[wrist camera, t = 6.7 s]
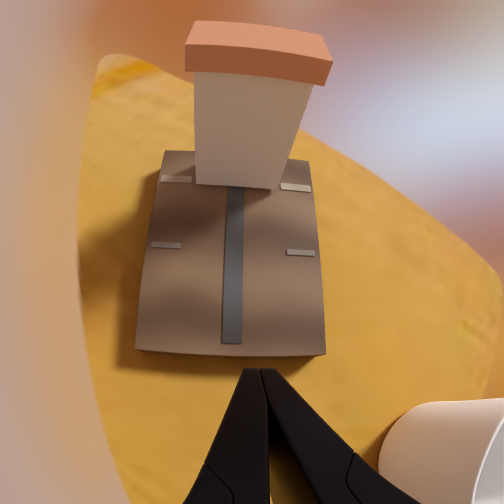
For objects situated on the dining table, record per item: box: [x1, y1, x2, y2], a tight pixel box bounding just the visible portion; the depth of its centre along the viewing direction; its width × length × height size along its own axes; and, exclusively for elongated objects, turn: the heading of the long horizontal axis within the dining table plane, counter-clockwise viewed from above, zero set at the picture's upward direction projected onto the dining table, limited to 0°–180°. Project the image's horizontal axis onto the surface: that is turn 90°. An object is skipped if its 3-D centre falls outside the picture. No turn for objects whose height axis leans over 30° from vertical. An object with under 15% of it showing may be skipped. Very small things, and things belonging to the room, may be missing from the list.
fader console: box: [135, 150, 326, 358], centre depth 21 cm, size 16×12×2 cm
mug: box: [378, 398, 504, 504], centre depth 12 cm, size 9×12×11 cm
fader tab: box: [185, 21, 333, 190], centre depth 17 cm, size 3×7×12 cm, turn 90°
